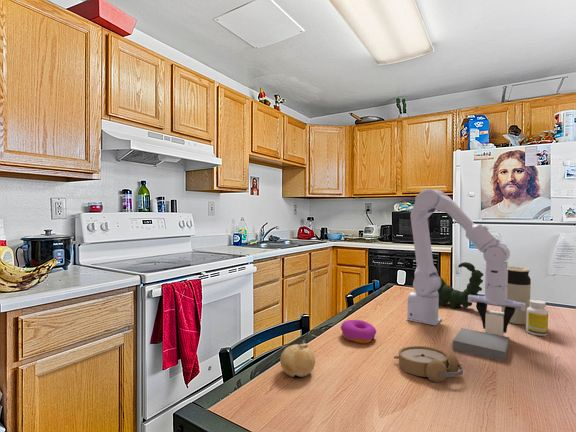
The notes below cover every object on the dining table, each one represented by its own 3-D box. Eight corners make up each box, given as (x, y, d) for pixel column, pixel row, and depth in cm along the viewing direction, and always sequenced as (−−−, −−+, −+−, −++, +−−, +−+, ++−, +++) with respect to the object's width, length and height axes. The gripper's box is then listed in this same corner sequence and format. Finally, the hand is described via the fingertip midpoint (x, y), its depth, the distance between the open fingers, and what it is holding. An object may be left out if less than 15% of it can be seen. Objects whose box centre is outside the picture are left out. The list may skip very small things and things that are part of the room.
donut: (368, 348, 94) (368, 331, 94) (334, 340, 99) (334, 324, 99) (380, 336, 103) (380, 320, 102) (348, 329, 108) (348, 314, 108)
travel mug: (503, 323, 114) (505, 269, 114) (499, 316, 122) (500, 265, 121) (532, 326, 111) (534, 271, 111) (525, 319, 119) (527, 267, 118)
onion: (303, 385, 74) (304, 353, 74) (273, 375, 78) (273, 345, 78) (320, 370, 81) (320, 340, 81) (291, 362, 85) (291, 333, 85)
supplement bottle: (551, 337, 102) (552, 304, 102) (530, 335, 103) (531, 303, 103) (541, 330, 108) (542, 299, 107) (522, 329, 109) (523, 298, 108)
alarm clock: (416, 342, 91) (472, 353, 78) (418, 362, 90) (475, 375, 78) (387, 352, 84) (444, 365, 72) (390, 373, 84) (447, 390, 72)
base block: (452, 349, 93) (452, 340, 93) (461, 336, 103) (461, 327, 103) (505, 361, 86) (505, 352, 86) (508, 346, 95) (509, 337, 95)
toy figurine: (481, 313, 130) (418, 294, 148) (488, 264, 128) (423, 251, 146) (472, 318, 123) (407, 298, 142) (478, 267, 121) (412, 253, 140)
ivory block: (484, 336, 102) (485, 313, 102) (486, 332, 106) (487, 309, 106) (502, 340, 100) (503, 316, 99) (504, 335, 103) (504, 312, 103)
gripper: (466, 283, 103) (465, 328, 104) (525, 291, 95) (523, 339, 95) (470, 279, 109) (469, 322, 109) (526, 286, 100) (524, 332, 101)
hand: (494, 329), depth 103 cm, fingers closed on ivory block, 4 cm apart
